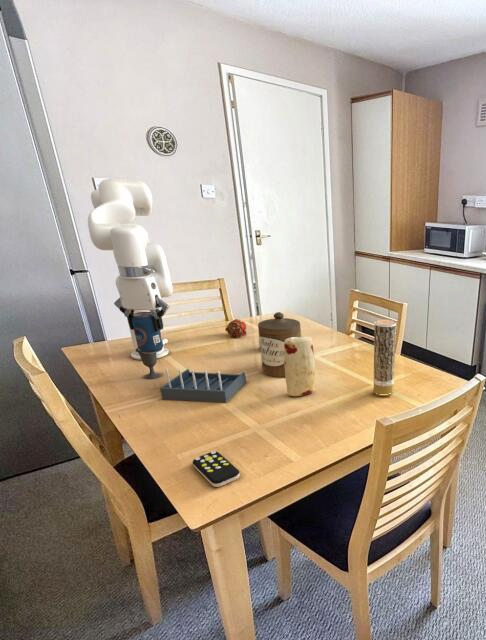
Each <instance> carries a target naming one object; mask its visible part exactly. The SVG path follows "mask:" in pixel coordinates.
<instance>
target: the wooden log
mask: <svg viewBox="0 0 486 640" xmlns="http://www.w3.org/2000/svg"><path fill="white" fill-rule="evenodd" d="M373 325H374V327H373V329H374V330H373V339H374V340H373V393H374V395H375V396H376V397H381V398H382V397H383V398H385V397H386V398H387V397H390V396H393V394H394V386H395V385H394V384H395V359H396V357H395V355H396V354H395V353H396V326H397V323H396V321H394V320H391V319H376V320H375V321H374V324H373ZM392 392H393V393H392ZM376 393H377V394H376ZM389 393H391V394H389ZM380 394H388V395H380Z"/></svg>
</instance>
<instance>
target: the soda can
mask: <svg viewBox="0 0 486 640" xmlns="http://www.w3.org/2000/svg"><path fill="white" fill-rule="evenodd" d="M153 319H155V318H154V316H153V315H152V314H151V312H138V313H134V314H133V318H132V324H133V328H134V333H135V337H136V341H137V346H138V349H139V350H140V351H141V352H142V353H156V352H159V351H161V350H162V348H163V337H162V336H163V335H162V330H160V331H155V327H154V322H153Z"/></svg>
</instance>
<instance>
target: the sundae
mask: <svg viewBox="0 0 486 640" xmlns="http://www.w3.org/2000/svg"><path fill="white" fill-rule="evenodd" d="M134 351H136V352H138V353H139V355H140V357H141V360H140V361H141V362H142V364H143V365H144V366H145V367H147V368H148V369H149V373H148V374H146V375H145V376H144V379H148V380H151V379H157V378H160V377H161V376H162V374H161V373H159V372H155V369H154V366H156V365H157V363H158V358H157V355H156V353H157V352H156V353H142V352H141V351H140V350H139V349H138V348H137V349H136V350H135V349H134Z"/></svg>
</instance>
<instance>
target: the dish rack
mask: <svg viewBox="0 0 486 640" xmlns="http://www.w3.org/2000/svg"><path fill="white" fill-rule="evenodd" d="M165 374H166V375H165V376H166V379H167V383H165V384H164V385H162V386H161V387H160V388H159V389H160V390H159V391H160V395H161V399H162V400H168V401H169V400H171V401H188V402H206V403H207V402H209V403H228V402H229V401H230V400H231V398H233V397H234V395H236V393H237V392H238V391H239V390H240V389H241V388H242V387H243V386H244V385H246V383H247V377H246V372H245V371H242V372H241V373H240V374H235V373H221V372H220V370H218V371H217V372H216V373H215V372H214V373H213V372H208V371H207V370H204V372H199V371H197V372H196V371H195V370H194V369H191V371H190V369H189V368H186V369H185V370H184V371H182V369H181V368H179V369H178V375H177V376H175V377H174V378H172V379H171V378H170V373H169V369H168V368H165Z"/></svg>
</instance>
